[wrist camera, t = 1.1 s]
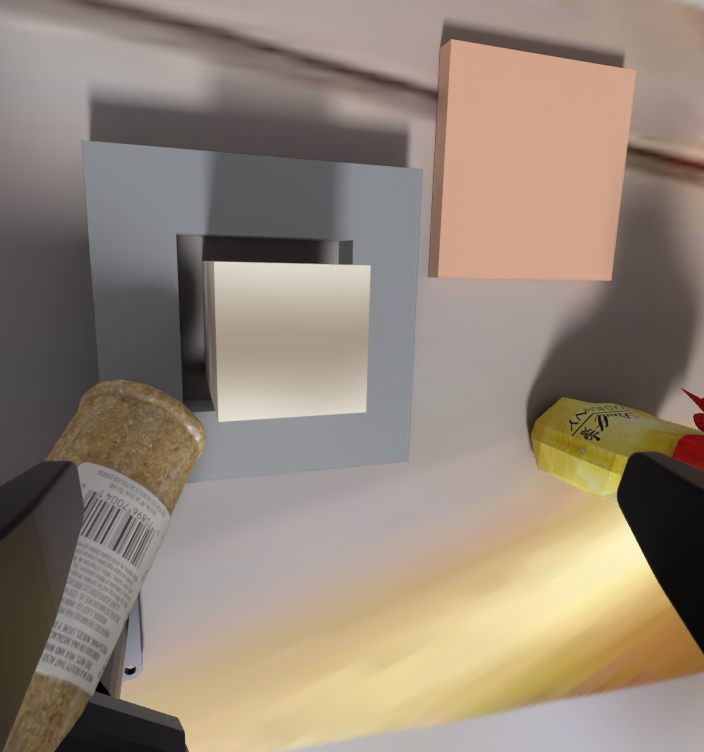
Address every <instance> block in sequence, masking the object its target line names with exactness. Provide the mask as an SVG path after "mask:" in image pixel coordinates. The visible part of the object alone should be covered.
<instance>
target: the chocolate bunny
mask: <svg viewBox="0 0 704 752" xmlns="http://www.w3.org/2000/svg"><path fill="white" fill-rule="evenodd" d="M681 389H682V388H681ZM682 390H683V391H684V392H685V393H686V394H687V395H688V396H689V397H690V398H691V399H692V400H693V401H694V402H695V403H696V404H697V405H698V406H699V407H700V409H701V410H702V411H703V412H704V398H702V399H700V398H698V397H697V396H695V395H693V394H691V393H689V392H687V391H686V390H684V389H682ZM693 418H694V422H695V425H696V426H697V427H698V429H700V430H701V431H699V430H696V429H693V428H689V427H686V426H682V425H679V424H675V423H672V422H668V421H665V420H662V419H660V418H657V417H655V416H653V415H650V414H648V413H645V412H643V411H640V410H636V409H633V408H629V407H625V406H622V405H618V404H615V403H589V402H585V401H580V400H575V399H570V398H565V397H562V398H561V399H560V400H558V401H557V402H556V403H555V404H554V405H553V406H552V407H551V408H549V409H548V410H547V411H546V412H545V413H544V414H543V415H542V416H540V417H539V418H538V419H537V420H536V421H535V424H534V427H533V430H532V433H531V440H532V445H533V449H534V454H535V458H536V463H537V467H538V470H542V471H545V472H549V473H551V474H553V475H554V476H556V477H558V478H560V479H562V480H563V481H565V482H567V483H569V484H571V485H572V486H574V487H576V488H578V489H580V490H581V491H584V492H587V493H589V494H592V495H595V496H597V497H600V498H603V499H605V500H607V501H610V502H612V503H614V504H616V505H618V506H619V504H618V501H617V489H618V486H619V483H620V480H621V477H622V474H623V471H624V468H625V466H626V463H627V460H628V458H629V456H630V455H631V454H632V453H634V452H642V451H656V452H660V453H663V454H665V455H667V456H670V457H672V458H675V459H677V460H680V461H682V462H684V463H687V464H689V465H692V466H694V467H697V468H699V469H702V470H704V413H698V414H694V416H693ZM702 431H703V432H702Z"/></svg>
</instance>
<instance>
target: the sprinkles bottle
mask: <svg viewBox="0 0 704 752" xmlns="http://www.w3.org/2000/svg"><path fill="white" fill-rule="evenodd" d="M205 446H206V434H205V431H204V428H203V425H202V423H201V422H200V420H199V419H198V418H197V416H196V415H194V414H193V413H192V412H191V411H190V409H189V408H187V407H186V406H185V405H184V404H183V403H181V402H179V401H178V400H176V399H175V398H173V397H171V396H169V395H168V394H166V393H164V392H163V391H160V390H158V389H156V388H153V387H151V386H148V385H146V384H142V383H137V382H130V381H125V380H118V379H116V380H112V381H103V382H101V383H98V384H96V385H95V386H94V387H92V388H90V389H89V390H88V391H86V392H85V394H84V395H83V396H82V398H81V401H80V405H79V409H78V411H77V413H76V414H75V415H74V417H73V418H72V420H71V421H70V423H69V424H68V426H67V427H66V429H65V431H64V433H63V434H62V435H61V437H60V438H59V439H58V441H57V442H56V443H55V445H54V447H53V449H52V451H51V452H50V453H49V455H48V456H47V458H46V459H45V460H44V461H72V462H74V463H75V464H76V466H77V469H78V473H79V479H80V485H81V490H82V496H83V502H84V519H83V524H82V527H81V531H80V535H79V538H78V542H77V546H76V549H75V553H74V557H73V560H72V564H71V568H70V572H69V575H68V579H67V583H66V586H65V590H64V594H63V597H62V601H61V604H60V607H59V611H58V614H57V617H56V620H55V623H54V625H53V628H52V631H51V633H50V636H49V638H48V641H47V643H46V646H45V648H44V651H43V653H42V656H41V658H40V661H39V663H38V666H37V668H36V671H35V673H34V676H33V678H32V681H31V683H30V686H29V688H28V690H27V693H26V695H25V698H24V700H23V703H22V705H21V708H20V710H19V713H18V715H17V718H16V720H15V723H14V725H13V728H12V730H11V733H10V735H9V738H8V740H7V743H6V745H5V748H4V750H3V752H54V751H55V750H56V749H57V747H58V746H59V744H60V743H61V741H62V740H63V739H64V737H65V736H66V735H67V733H68V732H69V731H70V730H71V729H72V728H73V726H74V724H75V722H76V721H77V720H78V718H79V717H80V716H81V714H82V713H83V711H84V708H85V707H86V705H87V703H88V701H89V700H90V699H91V698H92V696H93V694H94V692H95V689H96V687H97V685H98V683H99V680H100V678H101V676H102V674H103V671H104V669H105V667H106V665H107V663H108V660H109V658H110V656H111V654H112V651H113V649H114V647H115V645H116V643H117V640H118V638H119V636H120V634H121V631H122V629H123V627H124V625H125V623H126V620H127V618H128V616H129V614H130V611H131V609H132V607H133V605H134V602H135V600H136V598H137V596H138V593H139V591H140V589H141V587H142V585H143V582H144V580H145V578H146V576H147V573H148V571H149V569H150V567H151V565H152V562H153V560H154V558H155V556H156V553H157V551H158V549H159V547H160V545H161V542H162V540H163V538H164V536H165V533H166V531H167V529H168V526H169V524H170V517H171V514H172V512H173V510H174V508H175V505H176V503H177V501H178V499H179V496H180V494H181V492H182V489H183V487H184V485H185V483H186V481H187V479H188V477H189V475H190V472H191V470H192V468H193V465H194V463H195V461H197V460H198V459H199V457H200V456H201V454H202V453H203V451H204V448H205Z"/></svg>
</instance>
